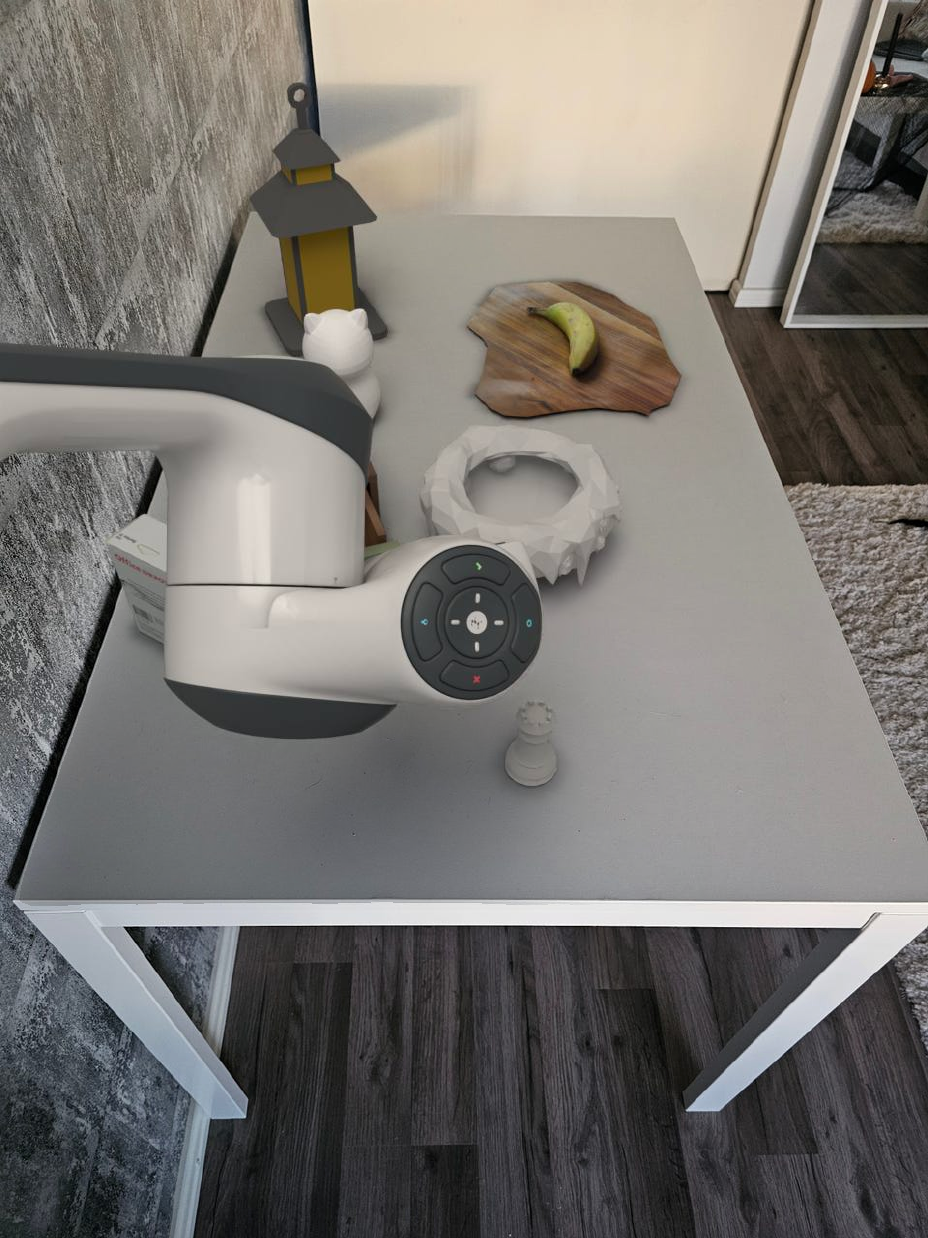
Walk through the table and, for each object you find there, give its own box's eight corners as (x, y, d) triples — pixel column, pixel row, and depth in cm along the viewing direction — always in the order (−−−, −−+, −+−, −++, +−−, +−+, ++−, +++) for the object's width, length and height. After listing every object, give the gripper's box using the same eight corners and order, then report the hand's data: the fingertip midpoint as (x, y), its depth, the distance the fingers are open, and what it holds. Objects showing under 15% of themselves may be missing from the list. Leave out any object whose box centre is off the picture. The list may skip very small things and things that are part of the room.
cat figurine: (312, 448, 107) (296, 334, 96) (304, 389, 116) (288, 277, 104) (387, 440, 109) (380, 326, 97) (374, 382, 117) (366, 270, 106)
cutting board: (700, 415, 112) (706, 389, 110) (482, 429, 110) (482, 402, 107) (632, 278, 136) (636, 253, 133) (451, 287, 134) (451, 262, 131)
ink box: (238, 634, 88) (214, 544, 79) (202, 667, 85) (173, 578, 76) (172, 599, 91) (142, 508, 82) (135, 630, 88) (100, 539, 79)
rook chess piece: (561, 785, 77) (570, 730, 71) (509, 792, 76) (514, 738, 70) (549, 741, 80) (557, 685, 74) (499, 748, 79) (503, 692, 73)
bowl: (385, 584, 92) (379, 509, 85) (459, 467, 105) (460, 393, 98) (580, 642, 87) (592, 567, 80) (634, 512, 100) (648, 437, 93)
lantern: (263, 308, 129) (223, 72, 107) (357, 289, 133) (337, 58, 111) (290, 358, 120) (253, 112, 98) (390, 336, 124) (376, 95, 102)
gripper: (250, 717, 53) (246, 697, 66) (569, 629, 58) (505, 627, 71) (223, 612, 53) (223, 613, 66) (546, 533, 58) (486, 548, 71)
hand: (372, 620), depth 69 cm, fingers closed
